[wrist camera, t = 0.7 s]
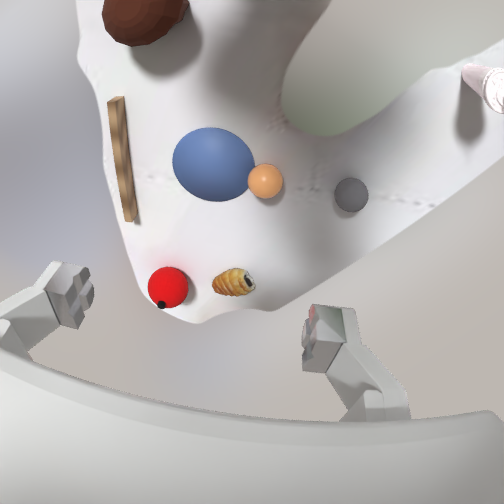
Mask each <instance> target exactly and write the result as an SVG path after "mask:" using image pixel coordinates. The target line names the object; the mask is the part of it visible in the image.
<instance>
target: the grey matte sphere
mask: <svg viewBox="0 0 504 504" xmlns="http://www.w3.org/2000/svg"><path fill="white" fill-rule="evenodd" d="M335 199H336V202H337V204H338V205H339V207H340V208H342V209H343V210H345V211H347V212H357V211H359V210H361V209H362V208H363V207H364V206H365V205H366V203H367V201H368V190H367V188H366V186H365V185H364V183H363V182H361V181H360V180H358V179H355V178H347V179H344V180H343V181H341V182H340V183H339V184H338V185H337V187H336V190H335Z"/></svg>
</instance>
